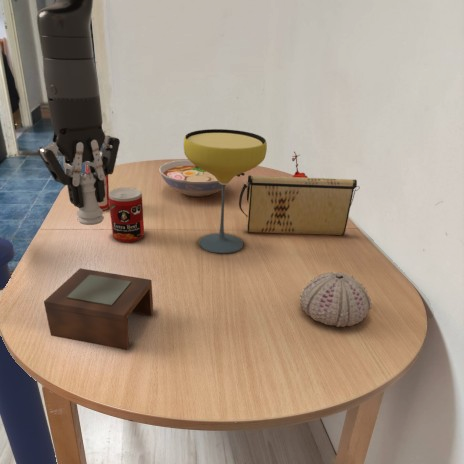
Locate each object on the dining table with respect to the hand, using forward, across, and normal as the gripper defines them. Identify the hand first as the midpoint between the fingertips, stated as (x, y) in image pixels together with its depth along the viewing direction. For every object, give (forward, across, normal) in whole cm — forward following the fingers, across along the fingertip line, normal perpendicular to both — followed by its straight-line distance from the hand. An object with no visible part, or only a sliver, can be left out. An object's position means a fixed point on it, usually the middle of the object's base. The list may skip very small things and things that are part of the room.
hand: (88, 203), depth 77 cm
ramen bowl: (+20, -57, -32) cm, 68 cm away
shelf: (+20, +4, +6) cm, 21 cm away
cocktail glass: (+20, -36, -2) cm, 41 cm away
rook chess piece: (+3, 0, 0) cm, 3 cm away
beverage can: (+19, -28, -41) cm, 53 cm away
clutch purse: (+20, -56, +5) cm, 60 cm away
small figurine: (+20, -75, -7) cm, 78 cm away
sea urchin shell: (+20, -30, +34) cm, 49 cm away
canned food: (+20, -22, -21) cm, 36 cm away
